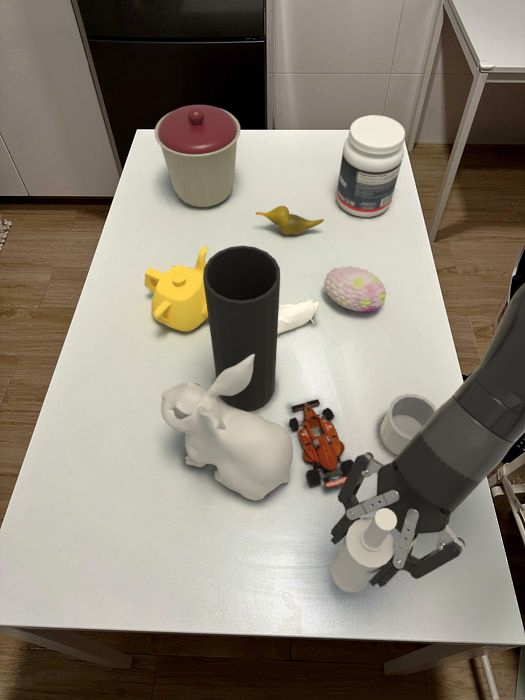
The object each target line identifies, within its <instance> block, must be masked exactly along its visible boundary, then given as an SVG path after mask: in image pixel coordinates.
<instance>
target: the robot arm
mask: <svg viewBox="0 0 525 700" xmlns="http://www.w3.org/2000/svg"><path fill="white" fill-rule="evenodd" d="M436 409H437V410H436V412H435V413H434V414H433V415H432V416H431V417H430V418H429V420H428V421H427V422H426V423H425V424H424V425H423V427H422V428H421V429H420V430H419V431H418V432H417V434H416V435H415V436H414V437H413V438H412V439H411V441H410V442H409V443H408V444H407V445H406V446H405V448H404V449H403V450H402V451H401V452H400V453H399V455H398V456H397V455H396V457H395V458H394V459H393V460H392V461H390V462H389V463H386V464H383V463H382V462H380V461H378V460H376V459H375V457H374V455H373V453H372V452H370V451H366V452H364V453H362V454H359V455H357V456H356V457H355V459H354V461H353V462H354V463H353V465H352V467H351V469H350V472H349V474H348V476H347V478H346V480H345V482H344V484H342V485H341V488H340V491H339V492H338V494H337V500H338V502H339V503H340V504H342V505H343V508H344V510H345V511H344V514H343V515H342V517H340V519H339V520H338V521H337V522H336V524H335V525H334V526H333V527H332V528H331V531H330V535H331V536H332V537H331V539H330V542H331V543H332V544H333V545H334V546H336V545H337V544H339V543H340V542H341V541H342V540H343V539H345V537H346V534H347V532H348V529H349V528H350V526H351V525H352V524H353V523H354V522H355V521H357V520H359V519H362V518H361V517H363V516H365V515H369V514H371V513H373V512H375V511H376V512H377V511H378V510H380V509H382V508H387V509H389V510H391V511H392V512H394V514H395V515H396V518H397V523H396V526H395V527H394V529H396V530H397V531H398V532H399V537H398V540H397V543H396V550H395V552H394V553H393V556H392V557H391V559H390V560H389V561H388V562H387V563H386V564H385V565H384V566H383V567H382V568H381V569H380V570H379V571H378V572H377V573H376V574H375V575H374V576H373V577H371V578H370V580H369V583H368V584H370V585H371V587H372V588H374V587H375V586H376V585H378V586H379V588H382V587H385V586H386V585H387V584H388V583H389V582H390V581H391V580H392V579H393V578H394V577H395V575H397V573H399V571H405V572H407V573H409V575H410V576H411V577H412V578H413V579H414V580H419V579H422V578H423V577H424V576H426V575H428V574H430V573H431V572H433V571H435V570H437V569H438V568H440V567H442V566H444V565H446V564H447V563H449V562H451V561H453V560H454V559H456V558H458V557H459V556H460V555H461V553H462V552H463V550H464V548H465V547H466V542H465V540H464V539H463V538H461V537H460V536H459V537H457V536H456V534H455V533H454V531H453V530H452V528H451V527H450V526H449V522H450V517H451V515H452V514H453V512H455V511H456V509H457V508H459V506H460V505H462V503H463V502H464V501H465V500H466V499H467V498H468V497H469V495H471V494H472V492H474V490H475V489H477V487H478V486H479V485H480V484H481V483H482V482H483V481H484V480H485V479H486V478H487V477H488V476H490V475H491V474H492V472H493V471H494V470H495V468H496V467H497V466H498V465H499V464H500V463H501V462H502V461H503V459H504V458H505V456H506V455H507V454H508V452H509V451H510V449H511V448H512V447H513V446H514V444H515V443H516V442H517V441H518V440H519V439H520V438H521V437H522V436H523V434H525V282H523V283H522V285H520V287H518V289H517V290H516V291H515V293H514V294H513V296H512V297H511V299H510V300H509V302H508V304H507V306H506V308H505V309H504V312H503V315H502V316H501V318H500V320H499V323H498V325H497V328H496V330H495V332H494V334H493V336H492V338H491V340H490V342H489V344H488V346H487V348H486V350H485V352H484V354H483V357H482V359H481V360H480V362H479V365H478V366H477V367H476V368H475V369H474V370H473V371H472V372H471V373H470V374H469V376H468V377H467V378H466V379H465V380H464V382H462V384H461V385H460V386H459V387H458V388H457V389H456V391H454V393H453V394H452V395H451V396H450V398H448V399H447V400H446V401H445V402H444V403H442V405H440V407H438V408H436ZM374 474H377V476H376V494H375V495H372V496H370V497H368V498H366V499H364V500H362V501H359V500H358V497H357V494H358V493H359V490H360V488H361V487H362V484H363V482H364V480H365V478H369V477H371V476H372V475H374ZM433 533H438V534H439V538H438V539H437V541H436V543H435V546H436V548H435V549H434V550H432V551H430V552H429V553H427V554H425V555H424V556H422V557H419V558H418V557H417V556H414V555H413V553H414V549H415V547H416V544H417V542H418V540H419V537H420V535H422V534H433Z"/></svg>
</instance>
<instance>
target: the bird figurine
mask: <svg viewBox="0 0 525 700" xmlns="http://www.w3.org/2000/svg"><path fill="white" fill-rule="evenodd" d="M319 304H320V303H319V301H318V300H315V301H314V298H313V299H312V298H311V299H308V300H304V301H300V302H298V303H284V304H280V305H279V312H278V332H277V335H279V334H282V333H284V332H288V331H290V330H293V329H295V328H298V327H301V326H303V325H305V324H306V323H308V322H309V321H311V323H312V324H313V325H314V324H315V322H314V319H313V317H314V314H315V313H316V312H317V311H318V308H319Z"/></svg>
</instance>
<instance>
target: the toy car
mask: <svg viewBox="0 0 525 700" xmlns="http://www.w3.org/2000/svg"><path fill="white" fill-rule="evenodd" d="M319 405H321V402H320V400H319V399H318V398H317V399H312V400H309V401H307V402H303V403H299V404H295V405H292V406H291V410H292V412H298V411H301V410H303V415H304V420H302V421H300V422H299V421H298V419H297V417H292V418H289V426H290V428H291V430H292V431H294V432H296V431H298V432H297V434H298V438H299V442H300V444H301V446H302V449H303V450H302V456H303V459H304V461H306V462H308V463H311V465H312V469H309V470H307V471H306V473H305V474H306V479H307V483H308V484H309V486H310V487H313V486H318V485H321V484H322V482H323V485H324V488H325V490H328V489H331V488H335V487H338V486H339V487H340V486H343V484H344V482H345V480H346V478H347V476H348V474H349V472H350V469H351V467H352V465H353V463H354V461H353V460H352V459H350V458H349V459H346V460H342V459H341V458H340V455H341V454H342V453H343V452H345V449H346V447H345V444H344V442H342V441H341V440H340V438H339V433H338V432H337V429H336V427H335V425H334V423H333V422H332V421H331V420H333V419H334V418H335V414H334V412H333V411H332V409H331V408H330V407H326V408H324V409H323V410H322V414H323V415H322V416H321V415H320V414H319V413H318V414H317V413H316V411H315V410H314V409H313V408H312V407H316V406H319ZM320 416H321V417H320ZM326 420H327V421H326ZM299 423H301V427H304V428H302V429H300V424H299ZM299 429H300V430H299ZM338 462H339V464H340V465H339V466H340V468H341V469H339V467H338ZM320 467H323V468H324V469H325V471H324V472H323V474H321V468H320Z"/></svg>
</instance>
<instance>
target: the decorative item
mask: <svg viewBox="0 0 525 700" xmlns="http://www.w3.org/2000/svg"><path fill="white" fill-rule="evenodd" d="M323 283H324V284H323V285H324V291H325V293H326V294H327V295H328V296H329V298H331V300H333V301H334V302H335V303H336V304H337V305H339V306H341V307H343V308H345V309H348V310H351V311H355V312H361V313H362V312H371V311H375V310H377V309H379V308H380V307H382V305H383V304H384V303H385V300H386V298H387V291H386V287H385V285H384V283H383V281H382V280H381V278H379V277H378V276H377V275H375V274H374V273H372V272H370V271H368V270H367V269H365V268H364V269H363V268H360V267H358V266H349V265H348V266H341V267H333V268H332V269H331V270H330V271H329V272H327V273H326V276H325V278H324V282H323Z"/></svg>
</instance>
